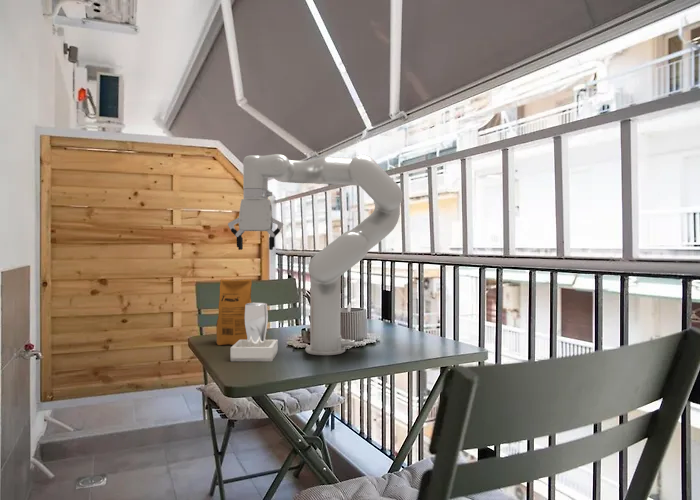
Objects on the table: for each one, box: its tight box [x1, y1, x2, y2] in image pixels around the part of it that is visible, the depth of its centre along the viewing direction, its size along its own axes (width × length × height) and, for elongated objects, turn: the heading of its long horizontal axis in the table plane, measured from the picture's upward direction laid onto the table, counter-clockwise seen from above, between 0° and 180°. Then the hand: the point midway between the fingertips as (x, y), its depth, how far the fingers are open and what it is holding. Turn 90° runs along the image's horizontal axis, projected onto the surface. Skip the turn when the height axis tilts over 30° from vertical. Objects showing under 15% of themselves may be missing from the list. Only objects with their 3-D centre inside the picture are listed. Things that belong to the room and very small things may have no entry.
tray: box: [230, 339, 279, 362], centre depth 149 cm, size 12×12×4 cm
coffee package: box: [215, 278, 253, 346], centre depth 170 cm, size 10×12×22 cm
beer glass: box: [244, 302, 269, 347], centre depth 149 cm, size 7×7×15 cm
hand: (255, 249), depth 155 cm, fingers open, 9 cm apart
